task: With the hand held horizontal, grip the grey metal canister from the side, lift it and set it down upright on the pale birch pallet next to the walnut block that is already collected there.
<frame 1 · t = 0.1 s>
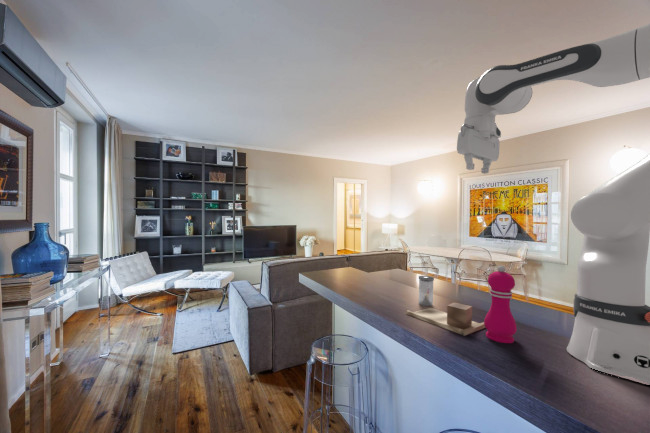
hand: (477, 171, 90), 48 cm above the table, tool pointing down, fingers open, 8 cm apart
pallet: (445, 323, 84), on the table
canister: (425, 307, 100), on the table
walnut block: (459, 327, 79), point 1 cm above the table, touching pallet
pepper mill: (499, 343, 72), on the table
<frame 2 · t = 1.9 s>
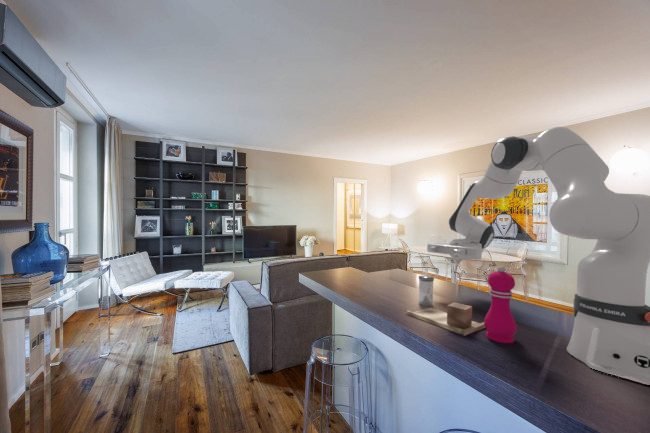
hand: (443, 250, 108), 20 cm above the table, tool horizontal, fingers open, 8 cm apart
nothing on the table moved.
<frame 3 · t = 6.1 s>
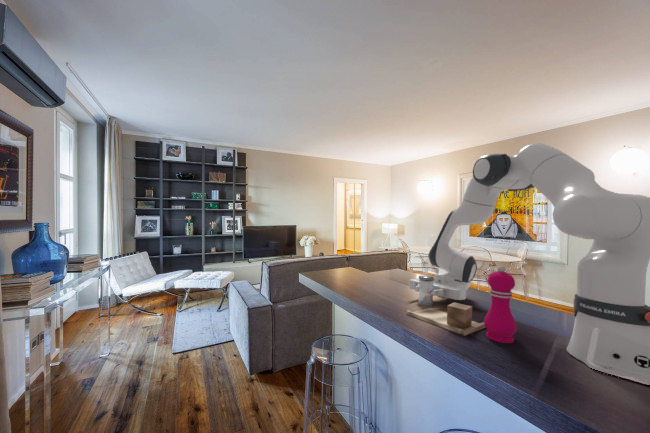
hand: (424, 291, 99), 6 cm above the table, tool horizontal, fingers closed on canister, 5 cm apart
canister: (425, 307, 100), on the table, touching gripper
everything else where it was.
when the fingers open (9 cm above the table, at t = 10.5 s): canister drops 1 cm, resting on pallet.
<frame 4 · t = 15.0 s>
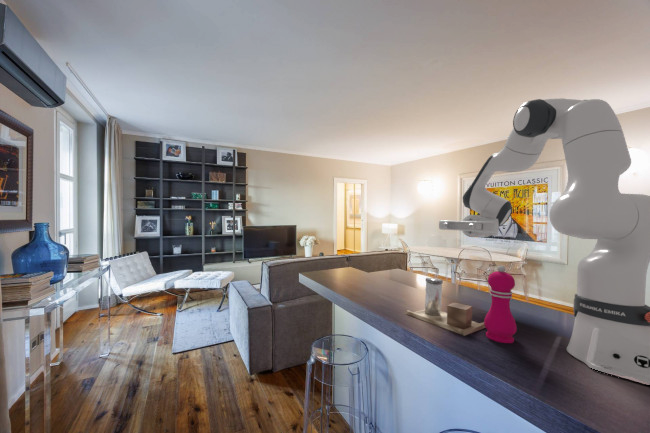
hand: (457, 225, 100), 30 cm above the table, tool horizontal, fingers open, 8 cm apart
canister: (432, 313, 90), point 1 cm above the table, touching pallet
everything else where it was.
at the end: canister inside the target area (5.7 cm from its centre), point 1.3 cm above the table; canister tilted 1°; the gripper is holding nothing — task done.
